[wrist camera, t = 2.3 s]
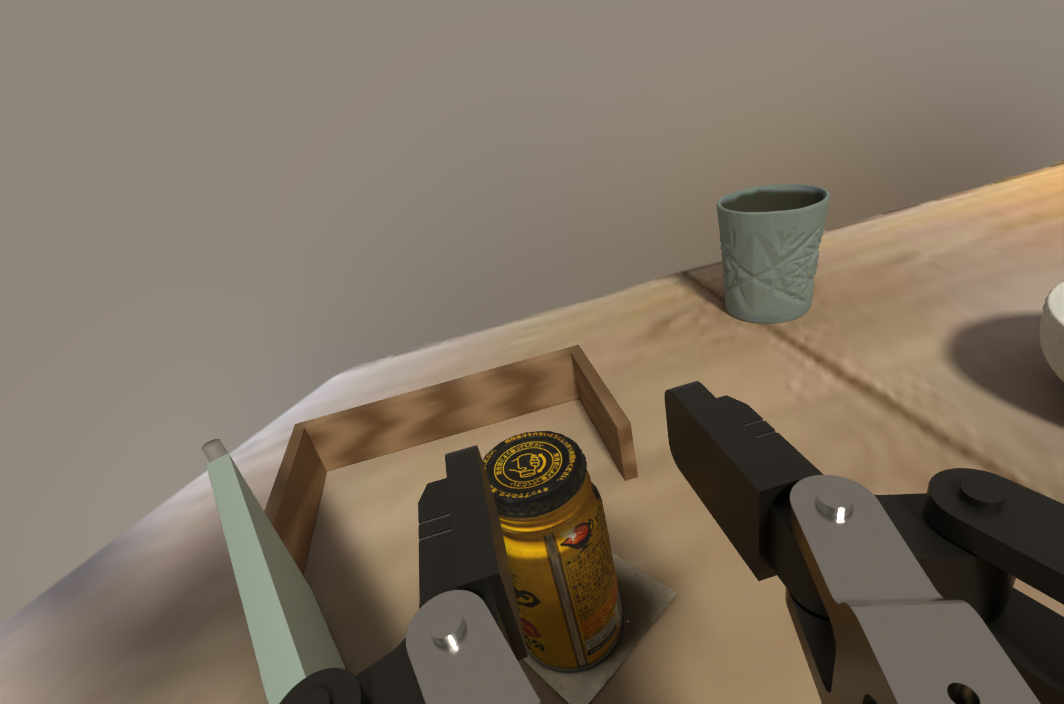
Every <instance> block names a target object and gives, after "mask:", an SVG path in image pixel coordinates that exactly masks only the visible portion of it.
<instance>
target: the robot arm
mask: <svg viewBox="0 0 1064 704" xmlns="http://www.w3.org/2000/svg"><path fill="white" fill-rule="evenodd" d="M665 407H666V418H667V428H668V438H669V446H670V450H671V453H672V456H673V459H674V461H675V463H676V465H677V467H678V468H679V470H680V471H681V473H682V474H683V476H684V477H685V478H686V480H687V481H688V483H689V484H690V485H691V487H692V488H693V490H694V491H695V492H696V494H697V495H698V497H699V498H700V499H701V501H702V502H703V504H704V505H705V506H706V508H707V509H708V511H709V512H710V513H711V515H712V516H713V518H714V519H715V520H716V522H717V523H718V525H719V526H720V527H721V529H722V530H723V532H724V533H725V535H726V536H727V537H728V539H729V540H730V542H731V543H732V544H733V546H734V547H735V549H736V550H737V551H738V553H739V554H740V556H741V557H742V558H743V560H744V561H745V563H746V564H747V565H748V567H749V568H750V570H751V571H752V572H753V574H754V575H755V577H756V578H757V579H758V581H761V580H764V579H767V578H770V577H773V576H776V575H777V576H778V577H779V578H780V580H781V581H782V582H783V584H784V585H785V586H786V603H787V607H788V610H789V612H790V615H791V618H792V621H793V624H794V626H795V629H796V632H797V635H798V638H799V640H800V643H801V646H802V649H803V652H804V655H805V657H806V660H807V663H808V666H809V669H810V671H811V674H812V677H813V680H814V683H815V685H816V688H817V691H818V694H819V697H820V700H821V703H822V704H1064V617H1063V616H1061V615H1059V614H1058V613H1056V612H1054V611H1052V610H1051V609H1049V608H1047V607H1046V606H1044V605H1042V604H1040V603H1039V602H1037V601H1035V600H1034V599H1032V598H1030V597H1028V596H1027V595H1025V594H1023V593H1022V592H1020V591H1018V590H1016V589H1015V588H1013V585H1014V582H1015V579H1016V578H1018V579H1019V580H1021V581H1023V582H1025V583H1026V584H1028V585H1030V586H1032V587H1034V588H1035V589H1037V590H1039V591H1041V592H1042V593H1044V594H1046V595H1048V596H1049V597H1051V598H1053V599H1055V600H1056V601H1058V602H1060V603H1062V604H1063V605H1064V504H1062V503H1060V502H1058V501H1055V500H1053V499H1051V498H1049V497H1046V496H1044V495H1042V494H1040V493H1037V492H1035V491H1033V490H1031V489H1029V488H1026V487H1024V486H1022V485H1020V484H1017V483H1015V482H1013V481H1011V480H1008V479H1006V478H1004V477H1001V476H999V475H996V474H993V473H990V472H986V471H982V470H976V469H969V468H955V469H948V470H944V471H941V472H939V473H937V474H936V475H934V476H933V477H932V478H931V480H930V482H929V486H928V490H927V493H925V494H901V495H874V494H873V493H872V492H870V491H869V490H868V489H867V488H865V487H864V486H862V485H860V484H859V483H857V482H855V481H852V480H850V479H847V478H843V477H839V476H833V475H823V474H822V473H821V472H820V471H819V470H818V469H817V468H816V467H815V466H814V465H812V464H811V463H810V462H809V461H808V460H807V459H806V458H805V457H804V456H803V455H802V454H801V453H799V452H798V451H797V450H796V449H795V448H794V447H793V446H792V445H791V444H790V443H789V442H788V441H786V440H785V439H784V438H783V437H782V436H781V435H780V434H779V433H776V432H775V429H774V428H772V427H771V426H770V425H769V424H768V423H767V422H766V421H763V418H762V417H761V416H759V415H758V414H757V413H756V412H755V411H754V410H753V409H752V408H751V407H750V406H749V405H747V404H745V403H743V402H741V401H738V400H736V399H734V398H731V397H729V396H727V395H726V396H722V397H719V398H715V397H714V396H713V395H712V394H711V393H710V392H709V391H708V390H707V389H706V388H705V387H704V386H703V385H702V384H701V383H700V382H698V381H695V382H692V383H689V384H685V385H682V386H678V387H675V388H672V389H668V390H666V392H665ZM445 462H446V473H447V478H445V479H442V480H438V481H435V482H432V483H428V484H427V486H426V488H425V490H424V492H423V494H422V496H421V498H420V500H419V503H418V518H419V541H420V542H419V588H420V605H419V610H418V612H417V613H416V614H415V616H414V617H413V619H412V621H411V623H410V625H409V628H408V631H407V635H406V638H405V639H404V640H403V641H402V643H401V644H400V645H399V646H398V647H397V648H395V649H394V650H393V651H392V652H391V653H389V654H388V655H387V656H385V657H384V658H382V659H381V660H379V661H378V662H376V663H375V664H373V665H372V666H370V667H369V668H367V669H366V670H364V671H363V672H361V673H360V674H358V675H357V676H354V675H353V674H352V673H351V672H349V671H347V670H345V669H342V668H327V669H323V670H320V671H317V672H315V673H313V674H311V675H309V676H307V677H306V678H304V679H303V680H301V681H300V682H299V683H298V684H296V685H295V686H294V687H293V688H292V689H291V690H290V691H289V692H288V693H287V694H286V696H285V697H284V698H283V699H282V700H281V702H280V703H279V704H542V702H541V701H540V699H539V698H538V696H537V694H536V693H535V691H534V689H533V687H532V686H531V684H530V682H529V680H528V678H527V677H526V675H525V673H524V671H523V670H522V668H521V666H520V664H519V663H518V661H517V660H520V659H523V658H526V657H528V654H527V649H526V644H525V639H524V634H523V629H522V625H521V620H520V615H519V610H518V605H517V600H516V595H515V591H514V586H513V581H512V576H511V571H510V566H509V561H508V557H507V552H506V547H505V542H504V537H503V532H502V527H501V523H500V518H499V514H498V510H497V506H496V503H495V499H494V496H493V493H492V490H491V486H490V483H489V480H488V477H487V474H486V471H485V468H484V464H483V461H482V458H481V455H480V452H479V449H478V447H477V445H476V446H472V447H469V448H465V449H462V450H459V451H455V452H452V453H448V454H445Z"/></svg>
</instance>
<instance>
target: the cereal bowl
mask: <svg viewBox="0 0 1064 704" xmlns="http://www.w3.org/2000/svg"><path fill="white" fill-rule="evenodd" d="M1040 321H1041V323H1040V326H1039V328H1040V333H1039V338H1040V346H1041V347H1042V353H1043V354H1044V355H1045V357H1046V361H1047V362H1048V363H1049V365H1050V366H1051V369H1052V370H1053V371H1054V372H1055V373H1056V374H1057V376H1058V377H1059V378H1060V379H1061V380H1062V381H1063V382H1064V281H1062V282H1061V283H1059V284H1058V285H1056V286H1055V287H1054V288H1053V289H1052V290H1051V291H1050V292H1049V294H1048V296H1047V298H1046V299H1045V304H1044V306H1043V313H1042V315H1041V318H1040Z"/></svg>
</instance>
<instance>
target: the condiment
mask: <svg viewBox="0 0 1064 704" xmlns="http://www.w3.org/2000/svg"><path fill="white" fill-rule="evenodd" d="M483 464H484V468H485V471H486V474H487V477H488V480H489V483H490V486H491V490H492V493H493V496H494V499H495V503H496V506H497V510H498V514H499V518H500V523H501V527H502V532H503V537H504V542H505V547H506V552H507V557H508V561H509V566H510V571H511V576H512V581H513V586H514V591H515V595H516V600H517V605H518V610H519V615H520V620H521V625H522V629H523V634H524V639H525V644H526V649H527V654H528V657H526V658H523V660H524V661H525V662H526V663H527V664H528V665H529V666H530V667H531V668H532V669H533V670H534V671H535V672H536V673H537V674H539V675H540V676H541V677H542V678H543V679H544V680H545V681H546V682H547V683H548V684H549V685H550V686H551V687H552V688H553V689H554V690H555V691H556V692H558V693H559V694H560V696H561V697H562V698H563V699H565V700H566V701H567V702H568V703H569V704H589V702H590V701H591V700H592V699H593V698H594V696H595V695H596V694H597V693H598V692H599V691H600V690H601V688H602V687H603V686H604V685H605V683H606V682H607V681H608V679H609V678H610V677H611V676H612V675H613V674H614V673H615V671H616V670H617V669H618V668H619V667H620V665H621V664H622V662H623V661H624V660H625V659H626V658H627V657H628V655H629V654H630V652H631V651H632V650H633V649H634V648H635V646H636V645H637V643H638V642H639V640H640V639H641V638H642V636H643V635H644V634H645V633H646V632H647V631H648V630H649V629H650V627H651V626H652V625H653V624H654V623H655V622H656V620H657V619H658V618H659V617H660V615H661V614H662V613H663V611H664V610H665V608H666V607H667V606H668V604H669V603H670V602H671V601H672V600H673V599H674V597H675V596H676V595H677V594H678V592H677V591H675V590H673V589H672V588H670V587H669V586H667V585H664V584H662V583H661V582H659V581H658V580H656V579H654V578H653V577H651V576H650V575H648V574H647V573H645V572H643V571H641V570H640V569H638V568H636V567H635V566H633V565H632V564H631V563H629V562H627V561H626V560H624V559H621V558H620V557H619V556H618V555H616V554H615V553H614V552H612V551H611V546H610V541H609V535H608V530H607V525H606V520H605V514H604V509H603V504H602V499H601V496H600V494H599V492H598V490H597V488H596V486H595V485H594V484H593V483H592V482H591V480H590V475H589V473H588V471H587V468H586V467H587V462H586V457H585V455H584V454H583V453H582V450H581V449H580V448H579V446H578V445H577V443H575V442H574V441H573V440H571V439H570V438H568V437H566V436H564V435H562V434H558V433H554V432H551V431H537V432H527V433H523V434H520V435H516V436H513V437H511V438H509V439H506V440H504V441H503V442H501V443H499V444H498V445H497V446H495V447H494V448H493V449H492V450H491V451H490V452H489V453H488V454H486V456H485V457H484V459H483ZM627 620H629V623H627V622H626V621H627Z"/></svg>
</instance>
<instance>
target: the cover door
mask: <svg viewBox="0 0 1064 704" xmlns="http://www.w3.org/2000/svg"><path fill="white" fill-rule="evenodd" d="M202 450H203V452H204V454H205V455H206V457H207V458H208V460H209V461H210V463H208V464H206V466H207V470H208V474H209V477H210V481H211V485H212V489H213V493H214V497H215V501H216V504H217V508H218V512H219V516H220V520H221V524H222V528H223V531H224V535H225V539H226V543H227V547H228V551H229V555H230V558H231V562H232V566H233V570H234V574H235V578H236V582H237V585H238V589H239V593H240V597H241V601H242V605H243V609H244V612H245V616H246V620H247V624H248V628H249V632H250V636H251V639H252V643H253V647H254V651H255V655H256V659H257V663H258V666H259V670H260V674H261V678H262V682H263V686H264V690H265V693H266V697H267V701H268V704H279V703H280V702H281V700H282V699H283V698H284V697H285V696H286V694H287V693H288V692H289V691H290V690H291V689H292V688H293V687H294V686H295V685H296V684H298V683H299V682H300V681H301V680H303V679H304V678H306V677H307V676H309V675H311V674H313V673H315V672H317V671H320V670H323V669H327V668H342V669H345V666H344V664H343V662H342V659H341V657H340V655H339V652H338V650H337V648H336V645H335V643H334V641H333V638H332V636H331V634H330V631H329V629H328V627H327V624H326V622H325V620H324V617H323V615H322V613H321V610H320V608H319V606H318V603H317V601H316V599H315V596H314V594H313V592H312V589H311V588H310V586H309V585H308V583H307V581H306V580H305V578H304V576H303V575H302V573H301V571H300V570H299V568H298V567H297V565H296V563H295V562H294V560H293V558H292V557H291V555H290V553H289V552H288V550H287V548H286V547H285V545H284V544H283V542H282V540H281V539H280V537H279V535H278V534H277V532H276V530H275V529H274V527H273V526H272V524H271V522H270V521H269V519H268V517H267V516H266V514H265V512H264V511H263V509H262V507H261V506H260V504H259V503H258V501H257V499H256V498H255V496H254V494H253V493H252V491H251V489H250V488H249V486H248V485H247V483H246V481H245V480H244V478H243V476H242V475H241V473H240V471H239V470H238V468H237V467H236V465H235V463H234V462H233V460H232V458H231V457H230V455H229V453H228V452H227V451H226V449H225V447H224V446H223V444H222V443H221V441H220V439H214V440H211V441H209V442H207V443H206V444H204V445H203V447H202ZM345 670H346V669H345Z"/></svg>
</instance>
